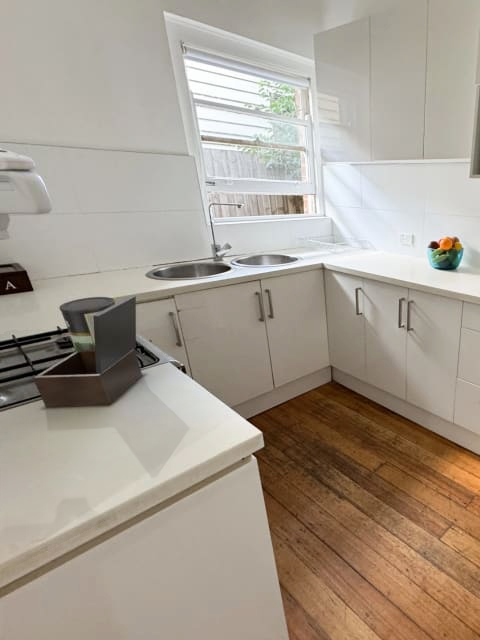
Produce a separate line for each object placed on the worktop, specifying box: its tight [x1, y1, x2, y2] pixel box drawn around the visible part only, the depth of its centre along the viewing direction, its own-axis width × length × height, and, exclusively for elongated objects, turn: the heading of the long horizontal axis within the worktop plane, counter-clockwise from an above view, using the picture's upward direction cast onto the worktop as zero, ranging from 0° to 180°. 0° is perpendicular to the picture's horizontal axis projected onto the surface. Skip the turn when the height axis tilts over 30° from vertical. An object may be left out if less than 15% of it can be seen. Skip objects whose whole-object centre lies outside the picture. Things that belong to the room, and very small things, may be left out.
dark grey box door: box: [93, 295, 137, 374], centre depth 77 cm, size 12×13×1 cm
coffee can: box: [58, 296, 116, 352], centre depth 94 cm, size 10×10×14 cm
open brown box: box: [32, 348, 143, 409], centre depth 80 cm, size 12×13×7 cm
